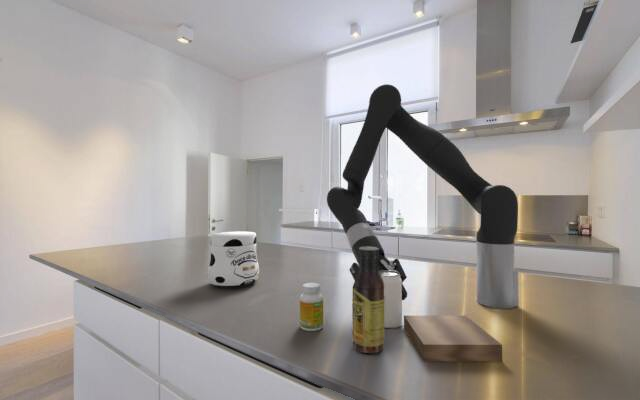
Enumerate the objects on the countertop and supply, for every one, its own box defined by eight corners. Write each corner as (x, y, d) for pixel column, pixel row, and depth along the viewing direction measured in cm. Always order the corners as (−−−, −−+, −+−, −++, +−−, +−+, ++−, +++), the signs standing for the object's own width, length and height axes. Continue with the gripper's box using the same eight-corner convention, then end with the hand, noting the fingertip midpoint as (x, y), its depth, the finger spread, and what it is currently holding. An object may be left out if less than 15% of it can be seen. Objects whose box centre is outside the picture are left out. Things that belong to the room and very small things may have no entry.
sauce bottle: (349, 341, 63) (349, 245, 63) (379, 339, 63) (378, 244, 63) (356, 357, 56) (355, 250, 56) (389, 355, 57) (388, 249, 57)
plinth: (466, 328, 68) (466, 315, 68) (502, 361, 54) (502, 344, 54) (403, 328, 69) (403, 315, 69) (424, 361, 55) (423, 344, 55)
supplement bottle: (315, 333, 66) (314, 289, 66) (295, 328, 69) (295, 285, 69) (327, 325, 71) (327, 283, 71) (308, 320, 74) (308, 280, 74)
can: (403, 330, 68) (402, 276, 68) (373, 328, 69) (373, 275, 69) (401, 319, 74) (400, 270, 74) (374, 317, 75) (374, 269, 76)
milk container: (252, 291, 98) (252, 236, 98) (199, 292, 98) (199, 236, 98) (263, 278, 115) (263, 231, 115) (218, 278, 115) (218, 231, 115)
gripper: (345, 236, 76) (372, 296, 65) (392, 233, 82) (424, 288, 71) (336, 254, 81) (359, 313, 70) (380, 250, 86) (409, 304, 75)
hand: (391, 300), depth 70 cm, fingers open, 6 cm apart
